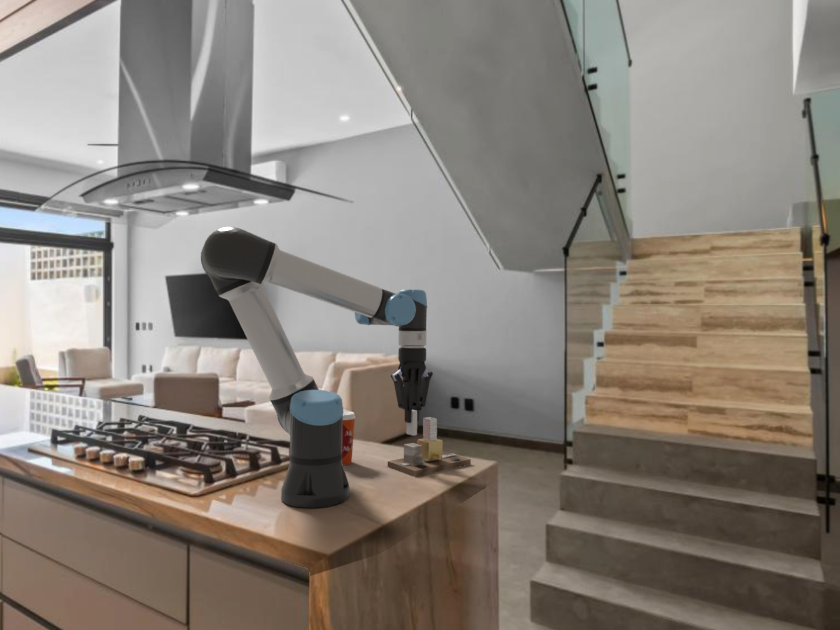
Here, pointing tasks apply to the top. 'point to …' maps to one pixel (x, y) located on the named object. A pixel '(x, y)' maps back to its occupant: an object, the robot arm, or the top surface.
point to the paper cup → (347, 436)
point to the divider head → (430, 440)
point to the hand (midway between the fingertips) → (411, 434)
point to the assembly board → (418, 466)
